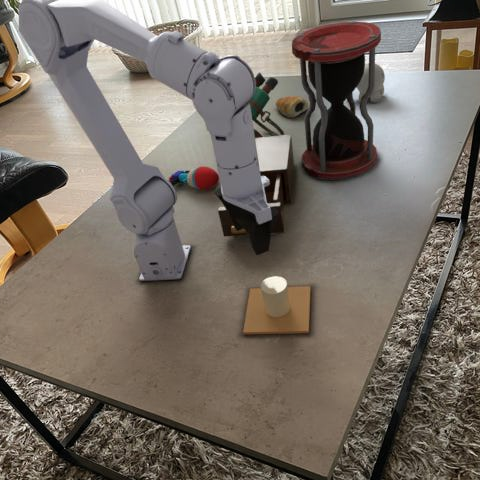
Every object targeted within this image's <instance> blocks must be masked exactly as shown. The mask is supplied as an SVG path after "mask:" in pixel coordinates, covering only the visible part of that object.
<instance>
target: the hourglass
mask: <svg viewBox="0 0 480 480" xmlns="http://www.w3.org/2000/svg"><path fill="white" fill-rule="evenodd" d="M381 41H382V31H381V28H380V26H379V25H376V24H374V23H370V22H367V21H356V20H353V21H341V22H334V23H327V24H324V25H320V26H319V25H318V26H316V27H315V26H314V27H312V28H310V29H308V30H305V31H303V32H301V33H299V34H298V35H297V36H295V38H293V39H292V41H291V54H292V55H293V56H294V57H295V58H296V59H299V64H300V76H301V77H300V78H301V79H300V80H301V85H302V88H303V90H304V92H305V93H306V94H307V97H308V100H309V105H308V109H307V110H306V113H305V116H304V130H305V142H306V149H305V150H304V152H303V153H302V154H301V167H302V169H303V170H304V172H305V173H306V174H308V175H309V176H311V177H314V178H317V179H320V180H329V181H336V180H337V181H338V180H346V179H347V180H348V179H351V178H354V177H357V176H360V175H363V174H364V173H366V172H368V171H370V169H372V168H373V167H374V166H375V164H376V163H377V160H378V151H377V146H375V145H374V123H373V120H372V118H371V116H370V115H369V113H368V108H367V103H368V101H369V100H368V98H369V99H370V95H371V94H372V92H373V90H374V83H375V64H376V48H377V47H378V45H379V44H380V42H381ZM366 53H368V63H369V85H368V89H367V91H366V93H365V94H364V95H363V96H362V98H361V101H360V102H359V105H358V108H359V112H360V115H361V117H362V118H363V120H364V121H365V124H366V126H367V139H365V131H364V125H363V123H362V121H361V119H360V118H359V117H358V116H357V115H356V102H355V99H354V96H353V93H354V91H355V90H356V89H357V88H356V87H357V86H358V84H359V83H360V81H361V79H362V77H363V75H364V69H365V65H366V55H365V54H366ZM308 80H309V82H310V84H311V85H312V87H313V89H314V90H315V92H314V90H313V89H312V88H311V86H310V84H309V82H308ZM324 99H325V101H326V102H328V103H330V106H329V108H327V106H326V105H325V102H324ZM367 100H368V101H367ZM345 101H346V102H347V103H348V106H349V107H347V105H345V103H344V102H345ZM316 107H317V108H318V109H319V110H320V119H319V120H318V121H317V123H316V124H315V125H314V129H313V133H312V132H311V117H312V114H313V113H314V112H315V111H316Z"/></svg>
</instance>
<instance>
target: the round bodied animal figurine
mask: <svg viewBox="0 0 480 480" xmlns="http://www.w3.org/2000/svg"><path fill="white" fill-rule="evenodd" d="M385 79H386V75H385V71H384V69H383V67H382V66H381V65H379V64H378V63H375V83H374V90H373V92H372V94H371V95H370V97H369V98H368V100H367V102H369V100H370V102H371V103H378V102H380V101H381V98H382V96H383V95H384V94H385V86H384V84H385ZM368 85H369V62H368V63H365V69H364V75H363V77H362V79H361V81H360V83H359V84H358V86H357V87H356V88H355V89H357V90H358V92H359V94H358V97H357V98H358V102H359V103H360V101H361V98H362V96H363V95H364V94H365V93H366V91H367V89H368Z"/></svg>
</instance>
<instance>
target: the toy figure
mask: <svg viewBox="0 0 480 480" xmlns="http://www.w3.org/2000/svg"><path fill="white" fill-rule="evenodd" d="M167 180H168V181H169V182H170V183H171V184H172V186H173V187H175V186H176V185H179V184H188V185H189V186H190V187H191V188H194V189H197V190H201V191H206V190H210V189H213V188H214V187H215V186H217V185H218V183H219V182H220V178H219V174H218V171H216V170H215V169H214V168H211V167H208V166H202V165H201V166H198V167H193V168H192V169H191V170H185V171H184V170H177V171H176V172H174V173H172V174H171V176H169V178H168V179H167Z"/></svg>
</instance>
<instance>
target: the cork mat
mask: <svg viewBox="0 0 480 480" xmlns="http://www.w3.org/2000/svg"><path fill="white" fill-rule="evenodd" d="M287 287H288V294H289V302H290V310H289V312H288V313H287V314H286V315H284V316H281V317H271V316H269V315H268V314H267V313H266V312H265V307H264V302H263V296H262V291H261V287H260V288H259V287H255V288H254V287H253V288H251V287H250V289H249V294H248V301H247V306H246V310H245V311H246V313H245V317H244V325H243V330H242V334H243V335H283V334H284V335H289V334H310V316H311V315H310V314H311V290H312V289H311V286H310V285H305V286H287Z"/></svg>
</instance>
